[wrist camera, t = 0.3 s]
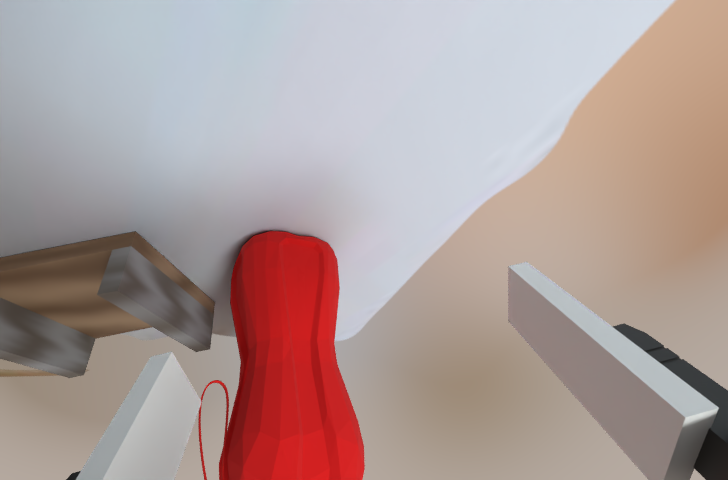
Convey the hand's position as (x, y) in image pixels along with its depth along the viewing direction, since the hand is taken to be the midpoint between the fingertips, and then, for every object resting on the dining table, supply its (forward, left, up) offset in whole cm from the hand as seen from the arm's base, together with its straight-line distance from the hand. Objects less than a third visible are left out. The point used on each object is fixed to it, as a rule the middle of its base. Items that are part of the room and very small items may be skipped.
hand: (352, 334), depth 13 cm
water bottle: (+14, -7, -15) cm, 22 cm away
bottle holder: (+14, -24, -15) cm, 32 cm away
